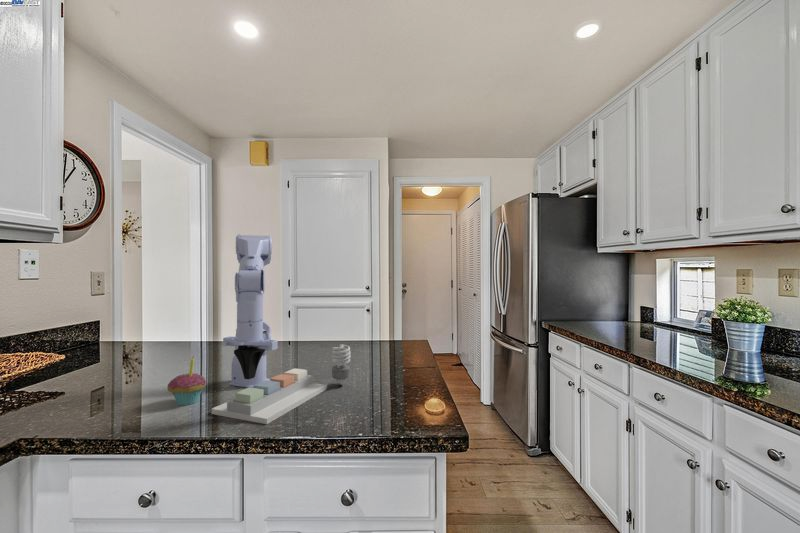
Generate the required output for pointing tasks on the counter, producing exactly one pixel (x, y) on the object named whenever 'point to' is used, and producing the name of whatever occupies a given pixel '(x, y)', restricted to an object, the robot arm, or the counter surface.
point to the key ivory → (297, 374)
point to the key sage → (249, 395)
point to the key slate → (268, 386)
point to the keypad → (272, 402)
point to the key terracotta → (283, 380)
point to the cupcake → (187, 387)
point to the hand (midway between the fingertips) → (249, 378)
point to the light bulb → (341, 364)
